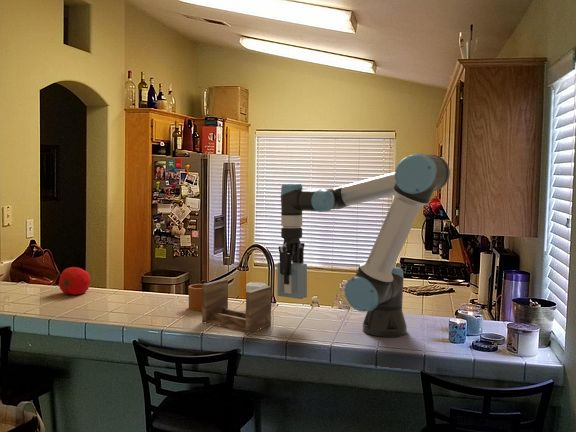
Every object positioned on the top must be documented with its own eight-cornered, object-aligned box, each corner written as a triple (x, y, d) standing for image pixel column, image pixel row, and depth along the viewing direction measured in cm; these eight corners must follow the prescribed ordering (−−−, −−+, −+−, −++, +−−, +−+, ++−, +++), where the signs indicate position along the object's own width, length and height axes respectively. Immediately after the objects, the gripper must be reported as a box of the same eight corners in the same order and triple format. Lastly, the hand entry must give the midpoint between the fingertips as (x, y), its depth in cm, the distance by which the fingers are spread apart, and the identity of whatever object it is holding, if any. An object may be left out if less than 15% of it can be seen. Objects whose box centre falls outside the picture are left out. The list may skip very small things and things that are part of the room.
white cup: (263, 312, 228) (263, 286, 227) (243, 310, 230) (244, 285, 229) (268, 307, 236) (268, 282, 235) (249, 306, 237) (249, 281, 237)
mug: (213, 312, 227) (213, 289, 226) (184, 310, 230) (184, 288, 229) (222, 306, 235) (221, 284, 234) (194, 304, 238) (193, 283, 237)
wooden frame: (270, 325, 210) (271, 286, 209) (250, 332, 201) (250, 292, 199) (223, 315, 223) (223, 278, 221) (202, 322, 213) (202, 284, 212)
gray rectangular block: (306, 297, 209) (306, 263, 208) (300, 299, 206) (300, 265, 205) (283, 293, 215) (283, 261, 214) (277, 295, 212) (276, 262, 211)
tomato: (80, 297, 261) (61, 304, 249) (66, 272, 262) (46, 278, 249) (101, 283, 258) (82, 290, 245) (86, 258, 258) (67, 264, 246)
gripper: (296, 224, 218) (296, 286, 220) (268, 228, 203) (269, 294, 205) (313, 225, 214) (313, 288, 215) (286, 229, 199) (287, 297, 201)
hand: (291, 291), depth 210 cm, fingers closed on gray rectangular block, 4 cm apart
